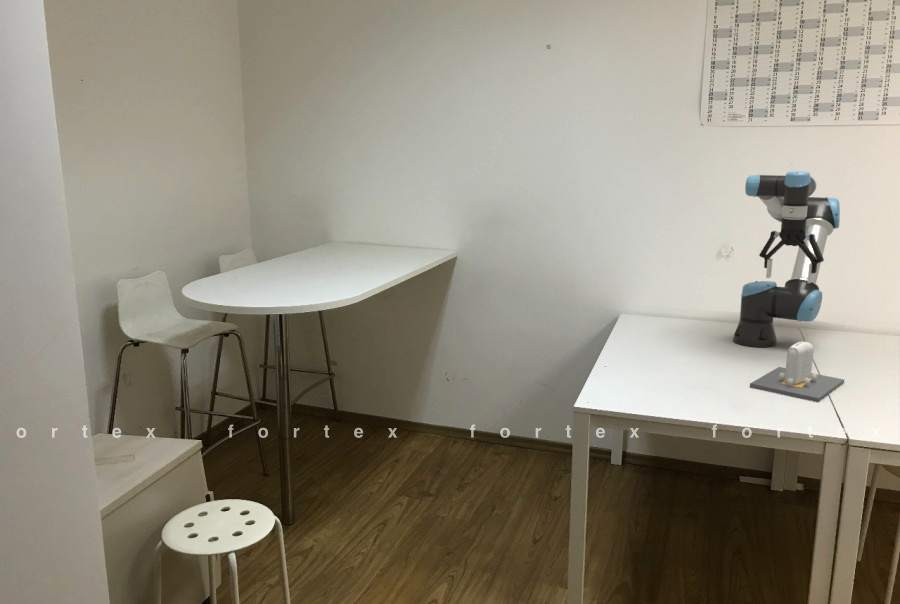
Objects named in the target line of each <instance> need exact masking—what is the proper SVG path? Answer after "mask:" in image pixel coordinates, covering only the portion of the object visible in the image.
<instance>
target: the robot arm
mask: <svg viewBox="0 0 900 604" xmlns="http://www.w3.org/2000/svg"><path fill="white" fill-rule="evenodd" d="M816 188H817V181H816V180H815V178H814V177H812V176H811V173H810V172H809V171H804V170H803V171H799V170H795V171H793V170H791V171H788V172H786V174H785V175H778V174H777V175H774V174H773V175H771V174H769V175H768V174H765V175H764V174H753V175H752V174H751V175H749V176H747V178H746V181H745V194H746V195H747V196H748V197H753V198H755V197H758V198H759V199H760V201H761V202H762V203H763V205H765V206H766V210H767V212H768V214H769V216H770V217H772V218H773V219H775V220H776V221H778V222H780V223H781V225H780V226H781V227H780V231H777V230H772V231H771V232H770V234H769V235H770V236H769V238H768V239H767V242H766V243H765V245H764V246H763V248H762V249H761V251H760V253H759V257H760V258H763V259H764V263H763V264H764V265H763V267H764V269H766V271H765V272H766V273H765V274H766V275H765V276H766V277H765V279H770V278H772V269H773V258H771V257H772V256H774V255H775V254H776V253H777V252H778V251H779V250H780V249H781V248H782V247H783V246H787V247H788V246H791V247H798V251H797V254H796V258H795V262H794V265H793V270H792V274H791V277H790V278H789V279H787V281H786V282H785V283H784V286H778V284H777V283H776V281H770V280H769V281H767V280H766V281H765V280H761V281H752V282H747V283H745V284H743V286H742V291H741V295H740V297H741V299H740V310H739V311H740V314H739V321H738V325H737V326H736V328H735V331H734V333H733V337H732V338H733V341H732V342H734V343H736V344H738V345H741V346H746V347H754V348H770V347H775V346H776V345H777V336H776V335H777V334H776V331H775V327H774V318H775V319H783V320H788V321H789V320H790V321H798V322H812V321H814V320H815V319H816V318H817V316H818V314H819V312H820V310H821V306H822V301H823V292H822V291H821V290H820V287H819V285H818V284H817V280H818V277H819V272H820V267H821V264H822V263H823V262H824V260H825V259H824V256H823V255H824V251H825V246H826V243H827V239H828V236H830V235H831V234H832V233H833V232H834V230H835V229H839V228H840V216H841V215H840V214H841V213H840V201H839V199H838V198H836V197H828V196H826V197H815V196H812V194H814V193H815V192H816V190H817V189H816ZM778 237H779V238H780V239H781V240H780V241H778V243H777V244H776V245H775V246H774V247H773V248H772V249H771V250H770V251H769V249H770V248H771V246H772V245H773V243H774V241H775V240H776V239H777V238H778ZM768 251H769V252H768Z"/></svg>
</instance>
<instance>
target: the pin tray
mask: <svg viewBox="0 0 900 604" xmlns="http://www.w3.org/2000/svg"><path fill="white" fill-rule="evenodd" d="M785 371H786V367H781V366H778V367H776V368H775V369H772V370H771V371H769V372H767V373H766V374H764V375H763V376H761V377H759V378H757V379H755V380H754V381H752V382H750V383H749V388H752V389H756V390H762V391H766V392H770V393H774V392H775V394H779V393H780V395H783V394H784V396H788V395H789V396H788V397H792V396H793V397H792V398H797V399H801V400H802V399H803V400H806V399H807V401H811V400H812V402H815V401H817V402H816V403H819V402H820V400H821V399H822V400H823V399H824V397H825V396H826V397H827V396H829V395H830V394H831V393H833V392H834V391H835V390H837V389H838V388H840V387H841V386H842V385H843V383H844V384H845V379H844V378H839V377H838V378H837V377H833V376H828V375H823V374H818V373H813V372H811V378H805V381H803V382H801V383H797V384H793V378H788V383H787V382H786V381H785ZM840 385H841V386H840ZM839 386H840V387H839ZM837 387H838V388H837ZM836 388H837V389H836ZM833 390H834V391H833ZM832 391H833V392H832ZM829 393H830V394H829ZM828 394H829V395H828ZM826 397H825V398H826ZM822 400H821V401H822Z"/></svg>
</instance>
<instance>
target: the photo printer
mask: <svg viewBox="0 0 900 604" xmlns="http://www.w3.org/2000/svg"><path fill="white" fill-rule="evenodd" d="M814 350H815V349H814V346H813V344H812V343H810V342H808V341H799V342H795V343H794V344H792V345H791V346H790V347H789V348H788V350H787V353H786V363H785V368H786V371H785V381H786V382H787V383H788V378H793V384H797V383H801V382H803V381H805V378H811V373H813V372H812V370H813V369H812V368H813V362H814Z"/></svg>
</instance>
